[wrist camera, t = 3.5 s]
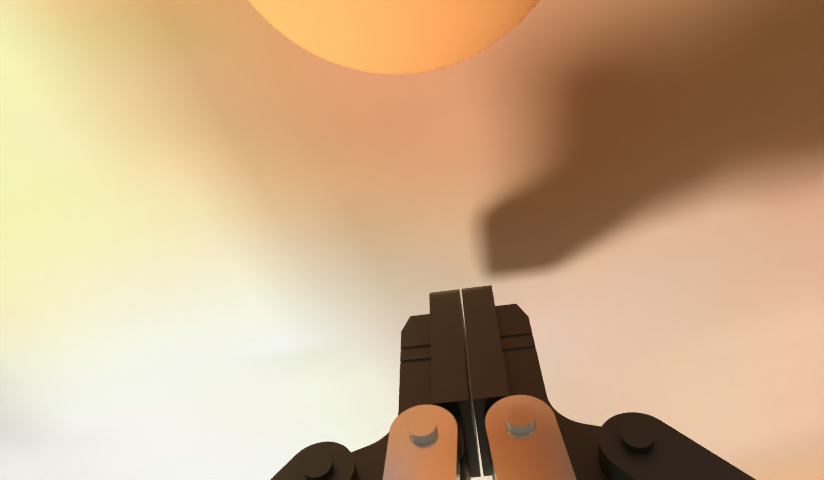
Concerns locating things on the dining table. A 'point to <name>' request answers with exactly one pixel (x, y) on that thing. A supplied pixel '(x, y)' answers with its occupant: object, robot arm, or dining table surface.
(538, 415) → the robot arm
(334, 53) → the ball
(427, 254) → the dining table surface
